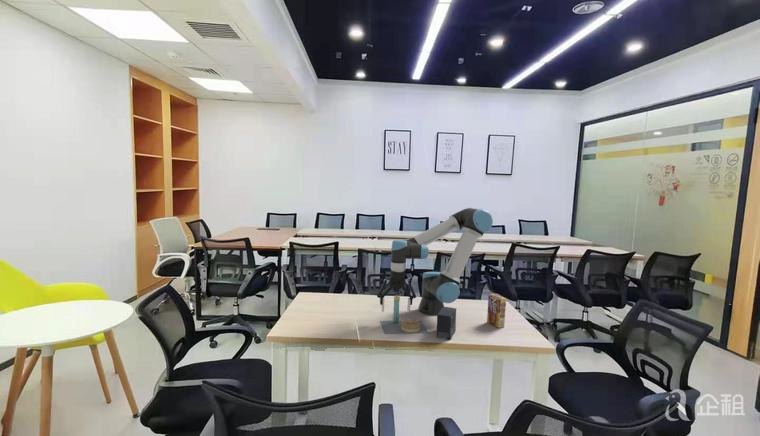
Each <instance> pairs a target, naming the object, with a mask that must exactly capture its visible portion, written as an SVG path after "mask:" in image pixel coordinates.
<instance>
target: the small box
mask: <svg viewBox="0 0 760 436" xmlns="http://www.w3.org/2000/svg"><path fill="white" fill-rule="evenodd" d="M456 322H457V308H455V307H450V306H444V307H443V308H442V309H441V310H440V312H439V313H438V314H437V315H436V338H438V339H442V340H443V339H444V340H447V341H451V340H452V338H453V336H454V334H455V333H456V329H457V328H456V327H457V323H456Z"/></svg>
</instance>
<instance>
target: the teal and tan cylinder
mask: <svg viewBox="0 0 760 436" xmlns="http://www.w3.org/2000/svg"><path fill="white" fill-rule="evenodd" d="M400 297H401V296H400V295H394V297H393V317H392V318H393V320H392V321H393V323H394V324H398V323H399V321H400Z"/></svg>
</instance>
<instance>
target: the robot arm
mask: <svg viewBox="0 0 760 436" xmlns="http://www.w3.org/2000/svg"><path fill="white" fill-rule="evenodd" d="M493 220H494V219H493V217H492V214H491V212H490V211H488V210H486V209H483V208H472V207H467V208H464V209H461V210H459V211H457V212H456V213H453V214H452V215H451V214H450V216H449V217H448V218H447V219H445V220H444V221H442V222H439V223H438V224H436V225H434V226H431V227H430V228H428V229H427V230H425V231H422V232H421V233H419V234H417V235H414V236H413V237H410V238H409V239H395V240H392V244H391V256H390V257H391V259H390V273H389V274H390V275H389V279H386V278H384V279H383V282H382V285H381V286H380V288H379V290H378V292H377V294H376V297H377V298H379V304H380V306H381V312H385V297H386V296H387V295H388V293H389V292H391V290H393V289H399V290H400V289H402V290H403V291H404V292H405V293H406V295H407V296H408V297H407V312H408V313H410V312H411V306H413V300H414V299H416V298H417V295H416V293H415V291H414V288H413V285H412V281H411V280H410V278H409V279H406V264H407V263H406V262H407V260H414V259H415V260H416V259H417V260H421V259H427V258H428V257H429V254H430V250H429V247H428V245H430V244H432V243H434V242H436V241H438V240H439V239H442V238H444V237H446V236H447V235H449V234H451V233H454V232H455V231H456V232H459V231H461V230H462V234H461V236H460V238H459V240H458V242H457V244H456V247H455V248H454V251H453V252H452V255H451V257H450V259H449V260H448V263H447V265H446V266H445V269H444V271H441V272H440V271H426V272H424V273H423V275H422V286H421V288H422V289H421V292H422V293H421V300H420V302H419V304H418V309H417V310H418V312H419V313H422V314H424V315H428V316H437V314H438V313H439V312H440V310H441V309H442V308H443V307H445V304H451V303H454V302H455V301H457V299H458V298H459V296H460V293H461V292H460V287H459V286H460V284H461V280H460V277H461V275H462V273H463V271H464V269H465V267H466V265H467V263H468V260H469V259H470V257H471V254H472V252H473V250H474V247H475V246H476V243H477V241H478V240H479V239H480V238H483V236H484V234H485V233H486V232H488V231H490V230H491V228H492V227H493V223H494V221H493ZM387 284H389V285H388V287H386V286H387ZM405 284H407V286H408V288H409V290H410V291H409V290H407V288H406V287H405ZM410 292H411V293H410Z"/></svg>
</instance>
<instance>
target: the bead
mask: <svg viewBox="0 0 760 436" xmlns="http://www.w3.org/2000/svg"><path fill="white" fill-rule="evenodd" d="M401 321H402V322H401V329H402V330H403V331H405V332H418V331H419V330H420V322H419V321H417V320H416V319H411V318H410V319H403V320H401Z"/></svg>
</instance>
